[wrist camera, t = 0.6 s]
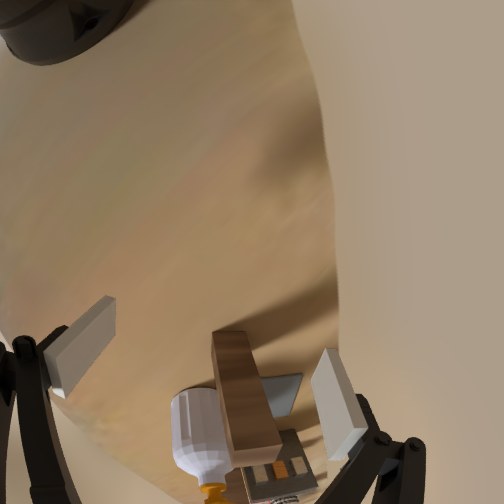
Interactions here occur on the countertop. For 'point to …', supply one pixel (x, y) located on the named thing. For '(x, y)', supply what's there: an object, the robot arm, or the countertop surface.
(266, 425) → the gate
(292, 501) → the decorative candle
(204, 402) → the soap bottle
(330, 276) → the countertop surface
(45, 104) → the countertop surface
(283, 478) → the breaker panel
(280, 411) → the pad
